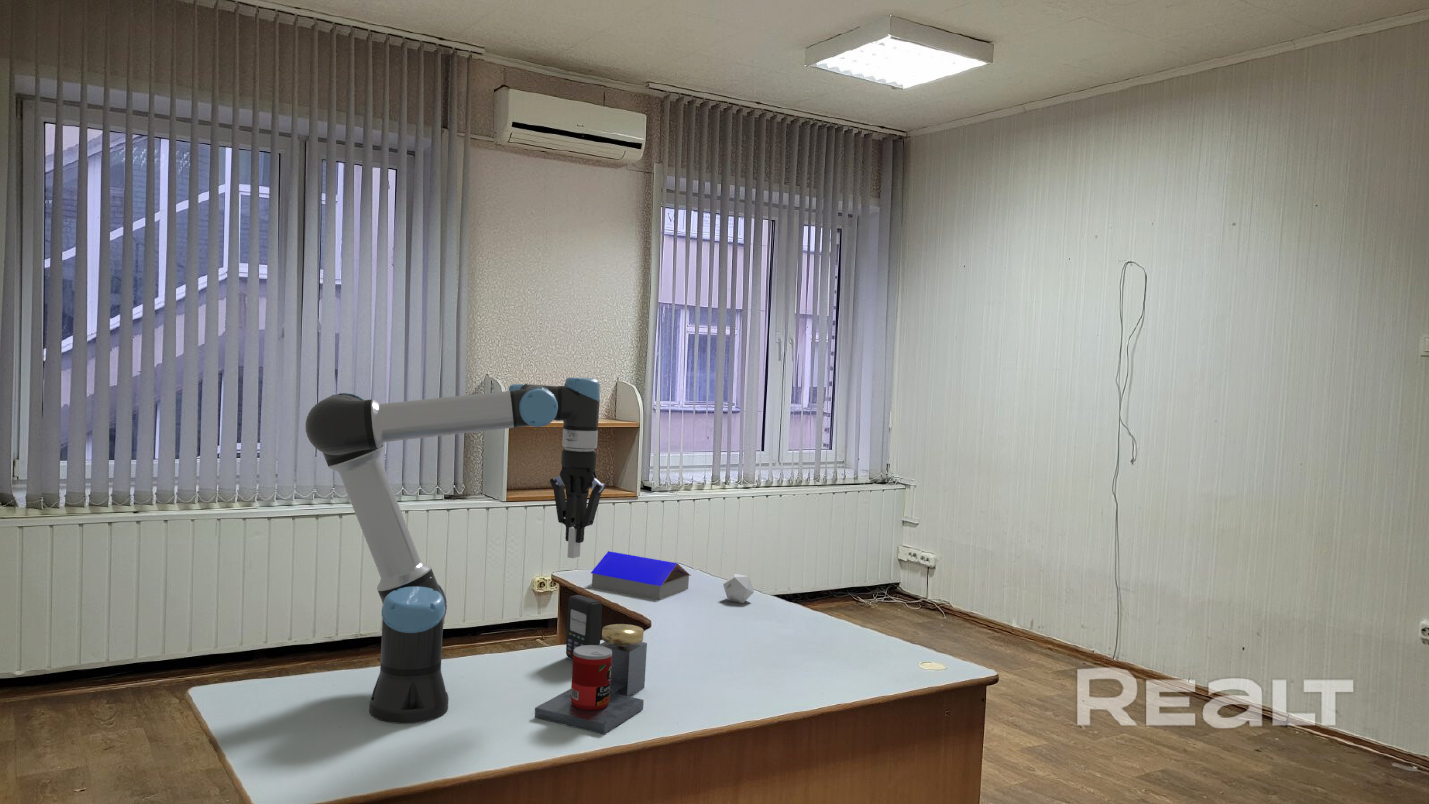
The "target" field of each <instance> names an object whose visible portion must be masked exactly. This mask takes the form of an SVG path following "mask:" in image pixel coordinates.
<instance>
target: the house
mask: <svg viewBox="0 0 1429 804" xmlns="http://www.w3.org/2000/svg"><path fill="white" fill-rule="evenodd" d="M590 574H592V576H591V587H592V588H596V589H602V590H606V591H612V592H618V593H622V594H628V595H633V596H638V597H643V598H648V599H654V600H657V601H658V600H659V601H660V600H662V599H665V598H668V597H670V596H674V595H676V594H678V593H681V592H684V591H686V590H689V583H690V582H689V580H690V576H692V574H690V573H689V572H688V571H687V570H685V569H684V568H683V566H681V565H680V564H679V563H677V562H674V561H673V562H672V561H668V560H661V559H656V558H650V557H644V556H638V555H632V554H627V553H622V552H615V551H609V550H608V551H607V552H606V553H605V554H604V556H603V557H602V558H601V559H600V561H598V563H597V564H596V565H595V567H594V568H593V570H592V571H590Z"/></svg>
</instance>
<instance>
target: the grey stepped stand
mask: <svg viewBox="0 0 1429 804" xmlns="http://www.w3.org/2000/svg"><path fill="white" fill-rule="evenodd" d="M597 646H603V647H607V648H609V649H611V650H612V668H611V684H610V700H609V703H608V705H607V706H606V707H605V708H602V709H598V710H585V709H580V708H577V707H575V706H573V704H572V702H571V688H570V689H568V690H566V691H563V692H562V693H560V694H558V695H557V696H554V697H552V698H551V699H548V700H547V701H544V702H543V703H541V704H540V705H537V706H535V707H534V718H535V719H539V720H543V721H548V722H552V723H556V724H559V725H565V726H569V727H573V728H577V729H582V730H585V731H590V732H593V733H596V734H597V733H598V734H601V735H605V734H607V733H609V732H610V731H613V729H614V728H616V727H618V726H619V725H621V724H623V723H624V722H626V721H627V720H629V719H630V718H632V717H634V716H635V715H637V714H639V713H640V712H641V711H643V710H644V701H645V699H642V698H638V697H637V698H636V697H632V695H635V694H636V693H638V692H639V691H640V690H643V689H644V688H645V683H646V666H647V665H646V664H647V647H648V642H644V641H642V642H641V643H638V644H633V645H627V646H626V647H622V646H618V645H616V644H611V643H607V642H605V641H603V642H602V643H601V642H600V644H599V645H597Z"/></svg>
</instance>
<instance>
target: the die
mask: <svg viewBox="0 0 1429 804" xmlns="http://www.w3.org/2000/svg"><path fill="white" fill-rule="evenodd" d="M722 585H723V589H724V592H725V594H726V598H727V601H730V602H735V603H740V604H744V603H745V602H746V601H747V600H748V599H749V598H750V597H751V596H752V595H753V594H754V593H755V592H754V589H753V587H754V586H753V584H752V582H751V579H750V576H749V575H748V576H747V575H745V574H744V575H743V574H738V573H734V574H733V575H731V577H729V578H728V579H727V580H726V581H724V583H723V584H722Z"/></svg>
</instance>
